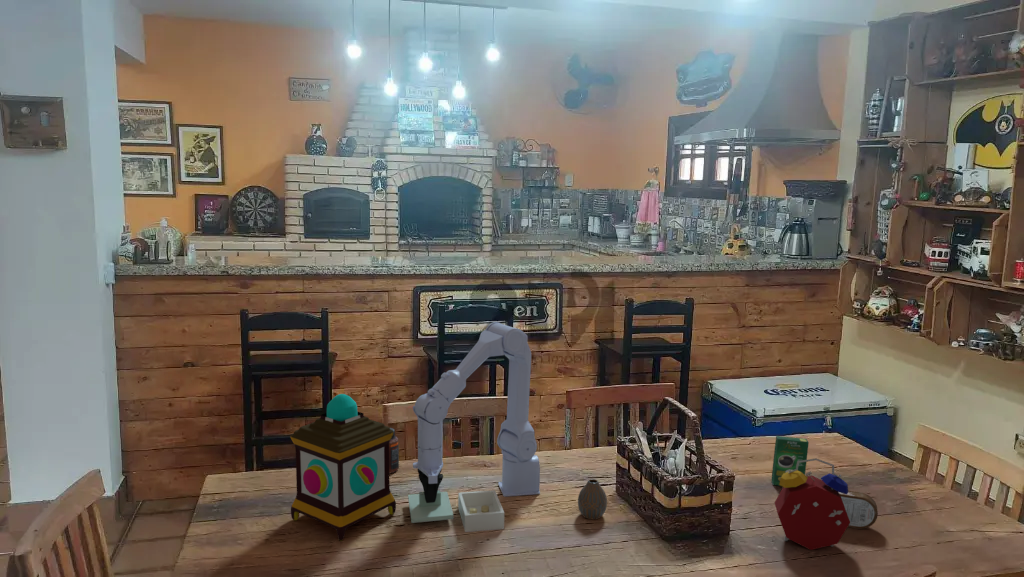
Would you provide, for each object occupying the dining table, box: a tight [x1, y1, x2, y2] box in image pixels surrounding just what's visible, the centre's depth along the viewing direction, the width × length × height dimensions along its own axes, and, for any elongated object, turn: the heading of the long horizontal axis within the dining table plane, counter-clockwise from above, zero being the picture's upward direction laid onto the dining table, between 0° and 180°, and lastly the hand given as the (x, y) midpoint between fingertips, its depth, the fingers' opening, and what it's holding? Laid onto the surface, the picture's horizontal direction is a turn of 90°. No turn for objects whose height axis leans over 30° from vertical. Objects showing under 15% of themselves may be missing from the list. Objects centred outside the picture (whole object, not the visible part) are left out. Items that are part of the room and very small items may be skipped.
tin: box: [839, 489, 879, 530], centre depth 170 cm, size 15×3×8 cm, turn 71°
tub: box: [457, 489, 505, 533], centre depth 170 cm, size 9×12×4 cm
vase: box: [577, 478, 608, 520], centre depth 172 cm, size 7×7×9 cm
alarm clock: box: [774, 457, 850, 551], centre depth 158 cm, size 15×9×20 cm, turn 77°
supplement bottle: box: [389, 427, 400, 474], centre depth 196 cm, size 6×6×11 cm
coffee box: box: [771, 435, 809, 487], centre depth 190 cm, size 8×3×13 cm, turn 79°
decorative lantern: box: [289, 393, 397, 542], centre depth 167 cm, size 20×20×30 cm
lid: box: [407, 489, 454, 524], centre depth 171 cm, size 10×13×5 cm
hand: (430, 500), depth 171 cm, fingers closed on lid
